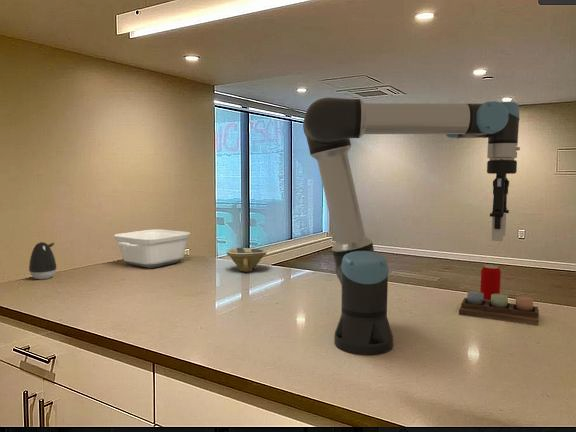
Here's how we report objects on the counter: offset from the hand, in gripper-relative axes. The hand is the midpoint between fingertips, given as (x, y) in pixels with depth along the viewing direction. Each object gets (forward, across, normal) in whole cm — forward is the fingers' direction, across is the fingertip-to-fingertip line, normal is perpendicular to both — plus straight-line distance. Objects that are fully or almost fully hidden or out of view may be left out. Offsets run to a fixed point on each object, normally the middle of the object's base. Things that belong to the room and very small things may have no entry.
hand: (498, 238), depth 131 cm
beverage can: (+26, +30, +4) cm, 40 cm away
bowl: (+26, +30, +105) cm, 112 cm away
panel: (+26, +14, 0) cm, 29 cm away
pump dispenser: (+26, -23, +172) cm, 175 cm away
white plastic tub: (+26, +21, +153) cm, 157 cm away
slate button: (+23, +14, +7) cm, 28 cm away
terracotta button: (+23, +14, -7) cm, 28 cm away
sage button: (+23, +14, 0) cm, 27 cm away
